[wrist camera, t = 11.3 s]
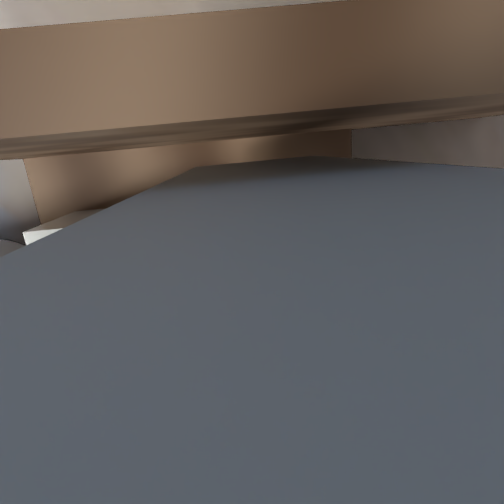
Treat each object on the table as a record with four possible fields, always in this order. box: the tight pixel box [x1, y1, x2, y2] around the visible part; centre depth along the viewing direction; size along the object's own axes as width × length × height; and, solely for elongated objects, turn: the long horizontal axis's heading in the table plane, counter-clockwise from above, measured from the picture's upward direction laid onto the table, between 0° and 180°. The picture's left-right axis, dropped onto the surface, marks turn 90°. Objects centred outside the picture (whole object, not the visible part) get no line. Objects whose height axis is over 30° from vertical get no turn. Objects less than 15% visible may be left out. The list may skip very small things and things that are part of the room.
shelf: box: [0, 0, 504, 225], centre depth 15 cm, size 26×16×16 cm, turn 95°
